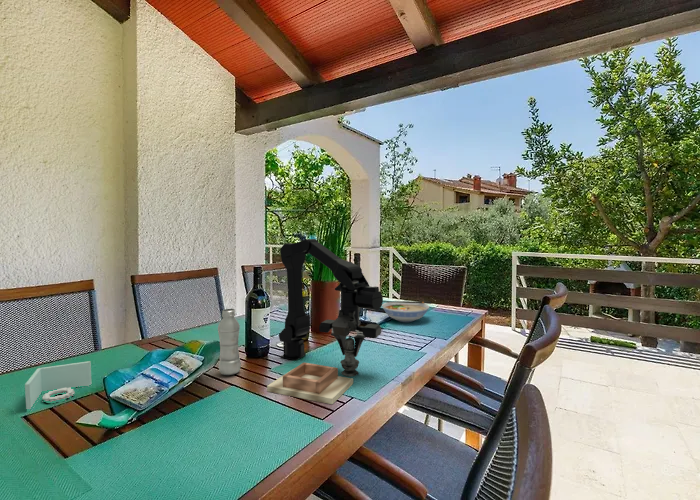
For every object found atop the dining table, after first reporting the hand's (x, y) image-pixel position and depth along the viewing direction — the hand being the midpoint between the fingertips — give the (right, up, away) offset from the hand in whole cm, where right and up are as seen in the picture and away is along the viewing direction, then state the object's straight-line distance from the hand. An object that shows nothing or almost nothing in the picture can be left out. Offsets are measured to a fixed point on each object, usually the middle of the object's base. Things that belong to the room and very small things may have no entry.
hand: (349, 355), depth 118 cm
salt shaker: (0, -6, 0) cm, 6 cm away
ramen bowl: (+27, -2, +66) cm, 71 cm away
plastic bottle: (-37, -6, 0) cm, 38 cm away
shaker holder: (-11, -6, -10) cm, 16 cm away
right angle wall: (-77, -7, -16) cm, 79 cm away
